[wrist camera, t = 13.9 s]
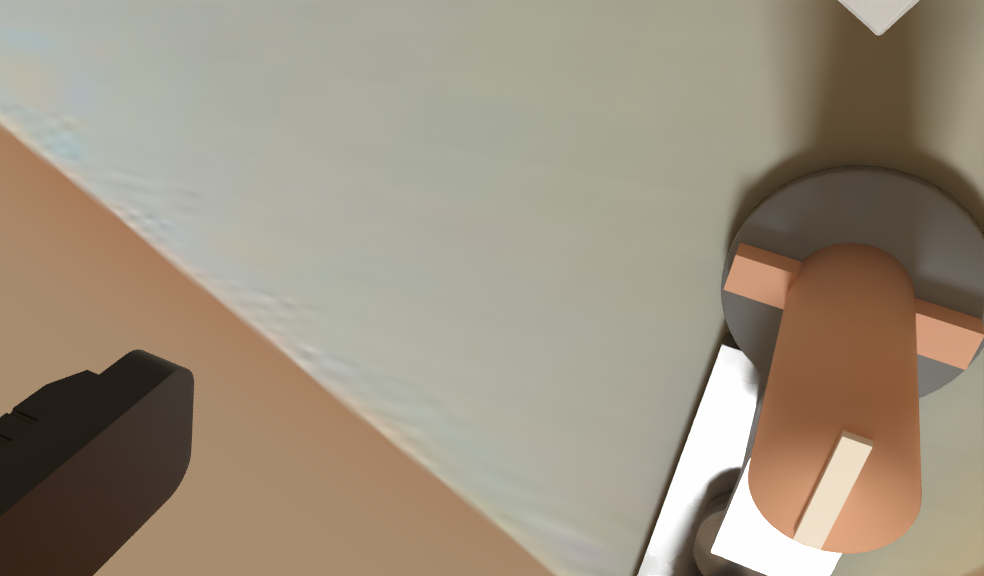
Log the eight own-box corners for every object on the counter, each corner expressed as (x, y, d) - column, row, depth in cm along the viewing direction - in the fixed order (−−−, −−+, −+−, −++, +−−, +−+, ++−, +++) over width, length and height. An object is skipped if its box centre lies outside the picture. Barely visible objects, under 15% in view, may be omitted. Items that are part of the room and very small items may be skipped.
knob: (751, 208, 36) (693, 373, 26) (1000, 285, 34) (1044, 498, 23) (717, 307, 38) (651, 493, 28) (947, 384, 36) (966, 616, 26)
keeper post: (625, 607, 49) (589, 715, 43) (725, 333, 40) (696, 424, 34) (773, 670, 47) (756, 791, 42) (915, 398, 38) (918, 506, 32)
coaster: (696, 344, 41) (691, 357, 40) (770, 133, 35) (766, 143, 34) (930, 425, 38) (931, 442, 37) (1045, 213, 33) (1050, 226, 32)
